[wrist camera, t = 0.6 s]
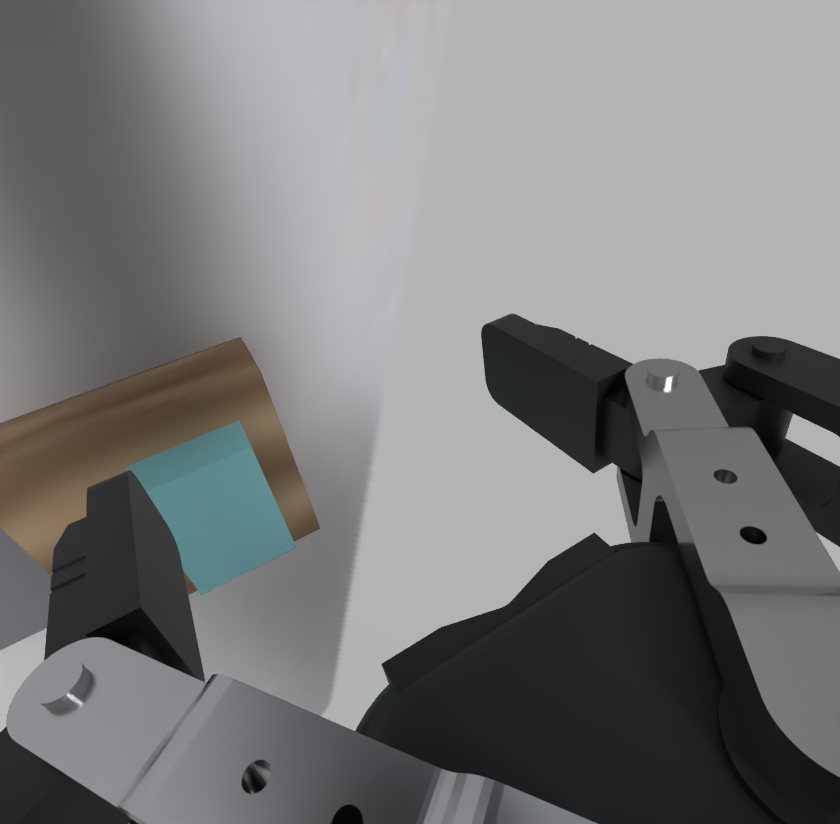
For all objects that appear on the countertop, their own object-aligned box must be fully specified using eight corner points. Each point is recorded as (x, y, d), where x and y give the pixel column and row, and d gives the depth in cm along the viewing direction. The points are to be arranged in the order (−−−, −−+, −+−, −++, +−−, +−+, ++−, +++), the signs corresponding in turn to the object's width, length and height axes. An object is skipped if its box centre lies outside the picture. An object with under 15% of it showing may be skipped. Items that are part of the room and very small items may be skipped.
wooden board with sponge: (-34, 435, 26) (-43, 486, 23) (240, 337, 30) (260, 370, 27) (106, 583, 35) (112, 632, 32) (301, 491, 39) (320, 528, 37)
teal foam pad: (125, 466, 27) (130, 498, 25) (238, 420, 28) (251, 446, 27) (193, 563, 32) (201, 594, 31) (283, 519, 34) (296, 546, 33)
